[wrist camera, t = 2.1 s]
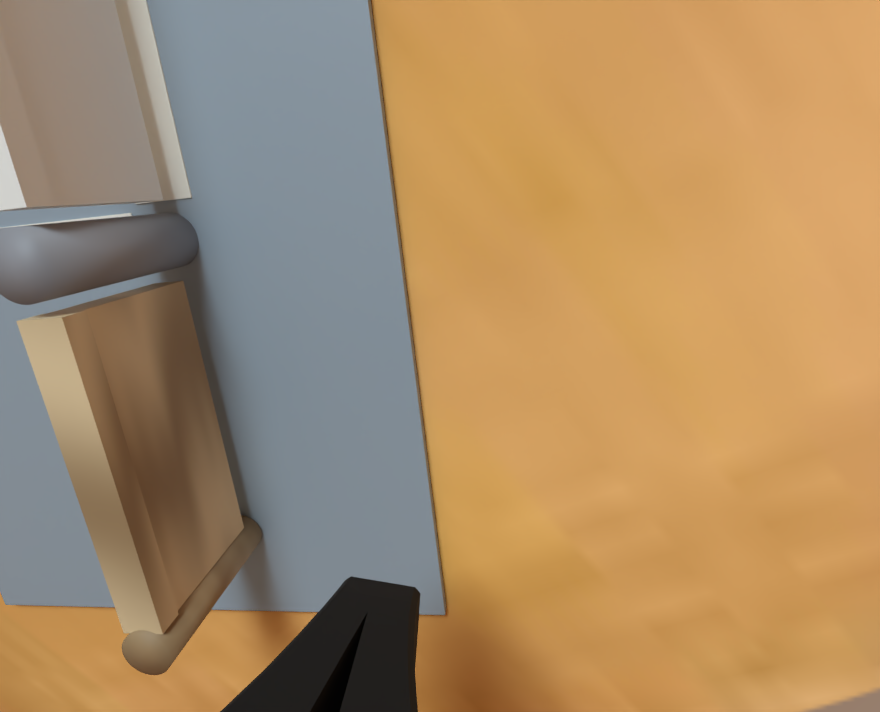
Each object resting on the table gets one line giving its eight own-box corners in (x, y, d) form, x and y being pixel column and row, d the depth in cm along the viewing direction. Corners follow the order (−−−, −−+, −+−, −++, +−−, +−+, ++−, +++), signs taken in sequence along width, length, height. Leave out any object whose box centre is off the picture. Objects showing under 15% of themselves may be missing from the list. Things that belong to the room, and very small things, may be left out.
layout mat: (13, 598, 20) (4, 605, 19) (-310, -188, 13) (-331, -198, 13) (446, 607, 17) (444, 616, 17) (323, -378, 10) (317, -395, 10)
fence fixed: (163, 267, 15) (-3, 307, 10) (45, -198, 12) (-270, -448, 7) (210, 262, 15) (61, 302, 10) (101, -214, 12) (-187, -483, 7)
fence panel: (160, 280, 15) (7, 323, 10) (201, 276, 14) (62, 318, 10) (229, 548, 17) (129, 674, 13) (265, 548, 17) (176, 676, 12)
